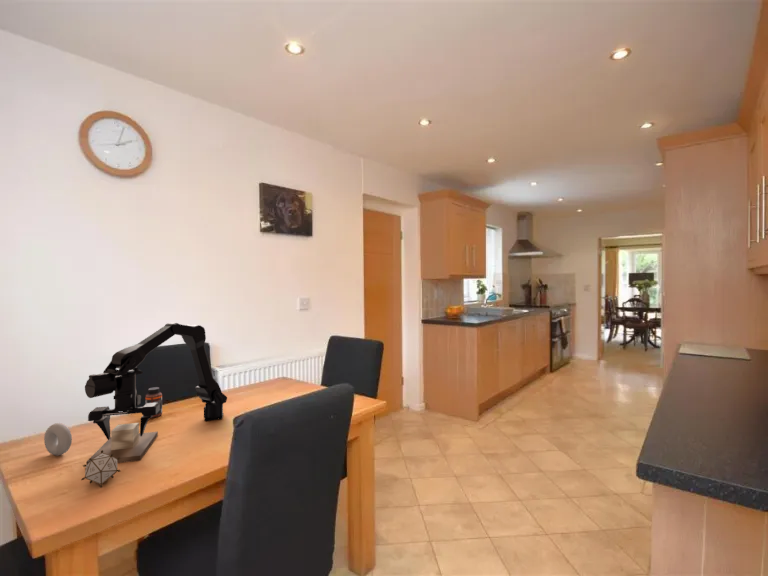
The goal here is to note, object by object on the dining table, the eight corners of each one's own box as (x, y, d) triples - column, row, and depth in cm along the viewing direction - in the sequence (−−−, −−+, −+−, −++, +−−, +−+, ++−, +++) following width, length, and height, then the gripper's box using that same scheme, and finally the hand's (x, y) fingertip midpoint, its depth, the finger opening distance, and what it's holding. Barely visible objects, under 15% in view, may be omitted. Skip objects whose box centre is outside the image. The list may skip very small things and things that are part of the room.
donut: (74, 454, 120) (74, 423, 120) (62, 459, 117) (62, 427, 117) (53, 450, 123) (53, 419, 123) (41, 454, 120) (41, 423, 120)
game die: (98, 494, 104) (99, 457, 109) (128, 482, 105) (128, 445, 110) (71, 493, 97) (73, 453, 101) (104, 480, 97) (105, 441, 102)
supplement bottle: (165, 413, 159) (165, 386, 159) (155, 418, 153) (155, 390, 153) (152, 413, 160) (152, 386, 159) (141, 417, 154) (141, 390, 154)
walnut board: (157, 435, 136) (157, 431, 136) (140, 460, 116) (140, 455, 116) (111, 440, 131) (111, 436, 131) (86, 466, 112) (86, 461, 112)
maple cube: (138, 440, 128) (138, 422, 128) (133, 447, 122) (133, 429, 122) (118, 442, 126) (118, 424, 126) (111, 450, 120) (111, 431, 120)
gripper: (163, 381, 134) (163, 425, 134) (101, 385, 129) (101, 431, 129) (155, 390, 124) (155, 437, 124) (87, 395, 118) (87, 444, 118)
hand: (125, 437), depth 124 cm, fingers open, 9 cm apart
